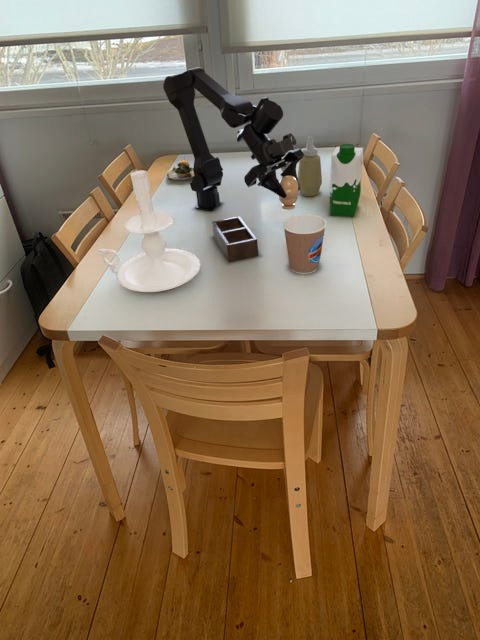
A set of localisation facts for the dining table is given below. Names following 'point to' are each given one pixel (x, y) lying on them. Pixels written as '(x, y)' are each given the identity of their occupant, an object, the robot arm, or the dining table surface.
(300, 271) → the coffee cup
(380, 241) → the dining table surface
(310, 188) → the squeeze bottle
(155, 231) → the candlestick
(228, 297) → the dining table surface
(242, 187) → the dining table surface
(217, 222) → the dark brown wooden tray
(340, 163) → the milk carton
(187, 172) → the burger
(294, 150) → the robot arm
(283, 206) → the egg
